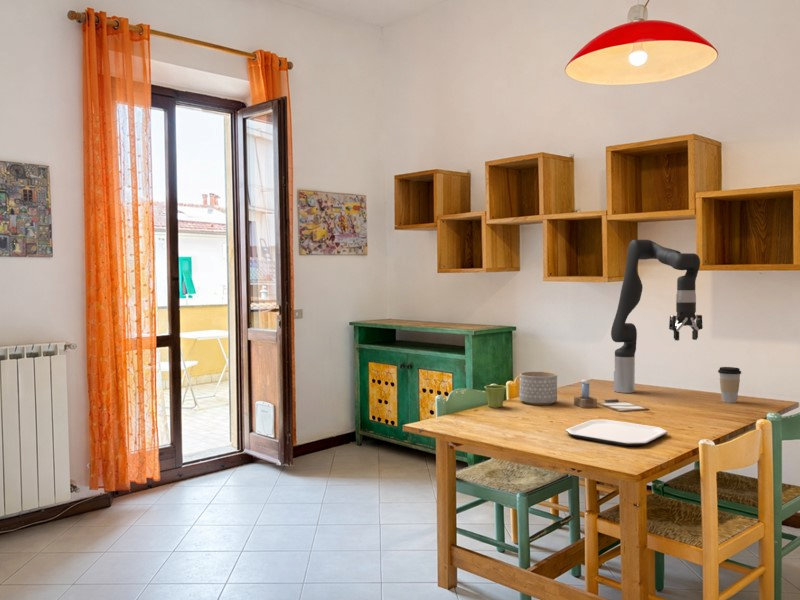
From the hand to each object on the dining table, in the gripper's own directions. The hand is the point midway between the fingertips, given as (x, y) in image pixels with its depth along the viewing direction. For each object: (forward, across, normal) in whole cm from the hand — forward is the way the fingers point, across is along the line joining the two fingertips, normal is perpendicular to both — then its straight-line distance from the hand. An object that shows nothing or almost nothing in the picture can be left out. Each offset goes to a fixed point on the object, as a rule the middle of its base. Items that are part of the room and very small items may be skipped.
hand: (685, 340), depth 274 cm
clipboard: (+29, +22, -12) cm, 39 cm away
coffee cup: (+30, -30, -10) cm, 43 cm away
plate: (+30, +52, +32) cm, 68 cm away
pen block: (+29, +36, -18) cm, 50 cm away
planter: (+30, +52, -31) cm, 67 cm away
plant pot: (+30, +74, -27) cm, 84 cm away
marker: (+29, +36, -18) cm, 50 cm away
